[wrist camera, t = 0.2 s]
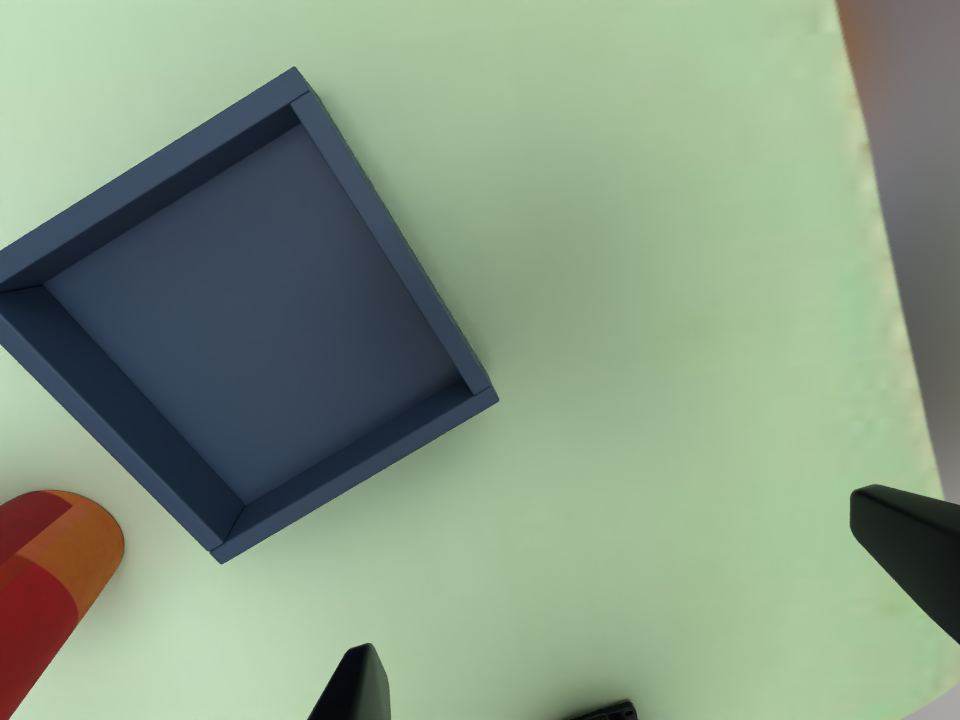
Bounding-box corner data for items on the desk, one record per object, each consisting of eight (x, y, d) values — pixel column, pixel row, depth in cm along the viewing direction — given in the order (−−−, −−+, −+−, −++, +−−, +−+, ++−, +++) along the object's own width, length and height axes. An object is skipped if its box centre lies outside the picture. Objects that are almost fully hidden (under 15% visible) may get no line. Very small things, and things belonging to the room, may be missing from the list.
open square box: (487, 373, 22) (500, 401, 19) (248, 515, 23) (220, 566, 20) (315, 92, 18) (294, 65, 15) (25, 274, 19) (-60, 287, 15)
